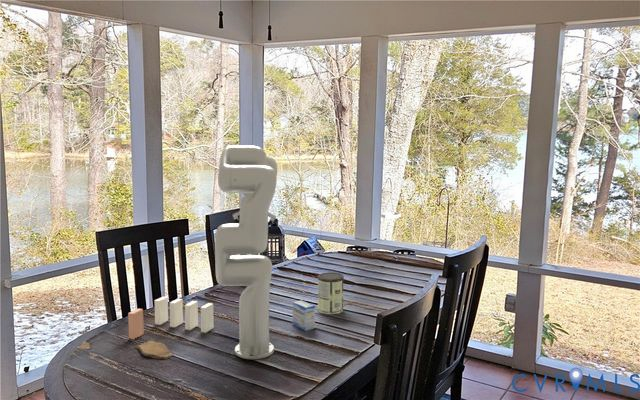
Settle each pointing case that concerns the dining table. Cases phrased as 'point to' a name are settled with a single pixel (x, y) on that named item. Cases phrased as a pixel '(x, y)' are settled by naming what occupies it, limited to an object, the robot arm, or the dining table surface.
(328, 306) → the coffee can
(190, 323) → the domino
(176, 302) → the domino
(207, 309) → the domino
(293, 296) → the dining table surface
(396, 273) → the dining table surface
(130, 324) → the terracotta domino
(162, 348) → the pottery shard
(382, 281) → the dining table surface
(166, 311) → the domino far
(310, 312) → the medicine box
